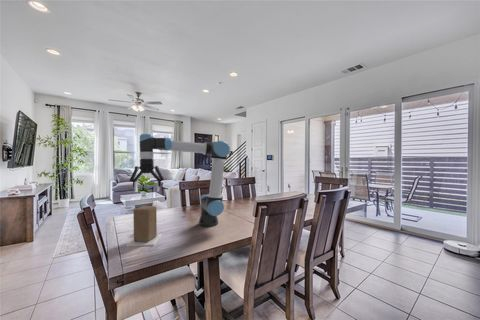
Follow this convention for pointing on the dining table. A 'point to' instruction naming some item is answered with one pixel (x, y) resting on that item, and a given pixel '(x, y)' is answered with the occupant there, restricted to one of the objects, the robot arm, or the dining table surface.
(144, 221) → the wooden block
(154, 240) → the shallow square tray
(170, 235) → the dining table surface
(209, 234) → the dining table surface
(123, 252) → the dining table surface
